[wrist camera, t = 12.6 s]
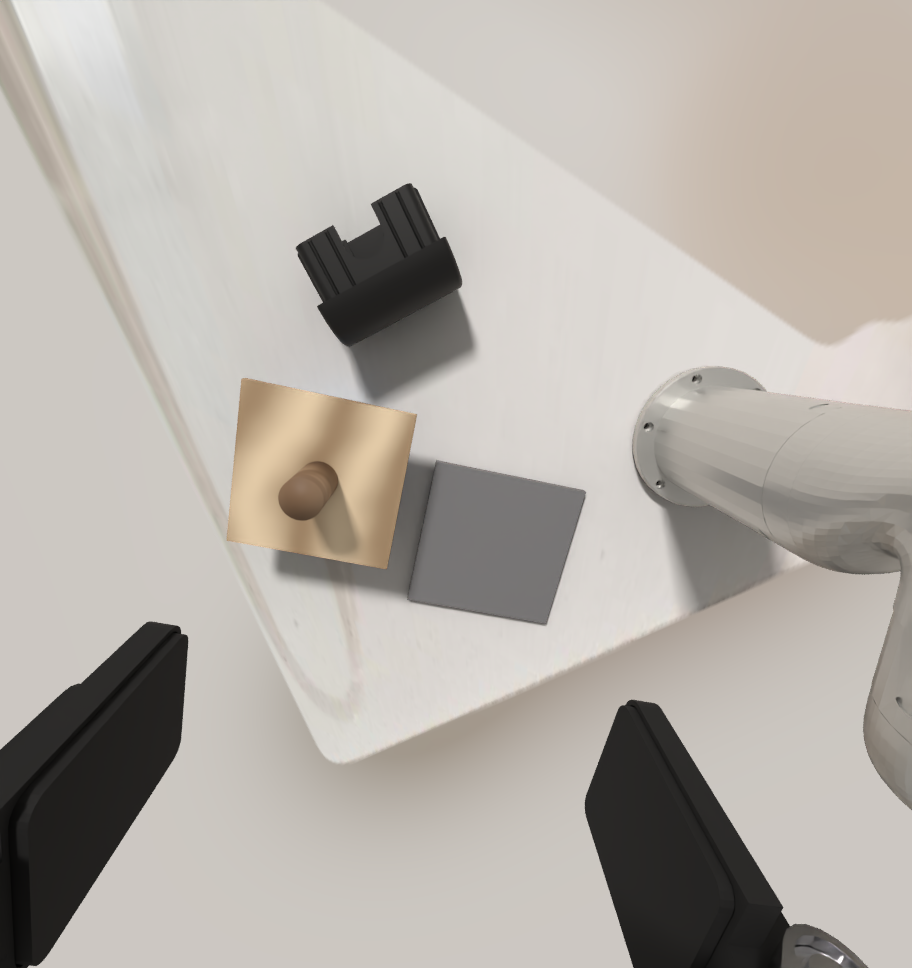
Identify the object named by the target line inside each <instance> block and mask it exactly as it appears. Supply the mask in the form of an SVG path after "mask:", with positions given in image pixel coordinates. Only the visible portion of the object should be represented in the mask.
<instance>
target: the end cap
mask: <svg viewBox="0 0 912 968" xmlns="http://www.w3.org/2000/svg"><path fill="white" fill-rule="evenodd" d="M371 206H372V208H373V210H374V212H375V214H376V216H377V218H378V220H379V223H380V225H379V226H377V227H375V228H373V229H372V230H370V231H368V232H366V233H364V234H363V235H361V236H359V237H357V238H355V239H354V240H352V241H350V242H348V243H347V241H346V240H344V241H341V239H340V237H339V235H338V233H337V231H336V229H335V227H334V226H333V225H332V226H331V227H329V228H327V229H325V230H323V231H322V232H320V233H318V234H316V235H315V236H313V237H311V238H309V239H307V240H306V241H304V242H302V243H301V244H299V245H298V246H297V247H296V249H297V251H298V257H299V259H300V261H301V263H302V265H303V266H304V268H305V270H306V272H307V274H308V276H309V277H310V279H311V281H312V283H313V285H314V287H315V289H316V290H317V292H318V294H319V296H320V298H321V300H322V301H323V303H322V304H320V305H318V306H317V307H318V309H319V311H320V313H321V314H322V316H323V318H324V319H325V321H326V322H327V324H328V325H329V327H330V328H331V330H332V331H333V333H334V334H335V335H336V337H337V338H338V339H339V340H340V341H341V342H342V343H343V344H344V345H346V346H352V345H354V344H355V343H357V342H359V341H361V340H363V339H365V338H367V337H369V336H370V335H372V334H374V333H376V332H378V331H380V330H382V329H384V328H385V327H387V326H389V325H391V324H393V323H395V322H397V321H399V320H400V319H402V318H404V317H406V316H408V315H410V314H412V313H414V312H415V311H417V310H419V309H421V308H423V307H425V306H427V305H429V304H430V303H432V302H434V301H436V300H438V299H440V298H442V297H444V296H446V295H447V294H449V293H451V292H453V291H455V290H457V289H459V288H460V287H461V286H462V278H461V275H460V272H459V269H458V266H457V263H456V261H455V258H454V256H453V253H452V251H451V248H450V246H449V244H448V241H447V239H446V237H443V238H441V239H440V238H439V236H438V234H437V231H436V229H435V227H434V225H433V223H432V220H431V218H430V216H429V214H428V212H427V210H426V207H425V205H424V203H423V201H422V199H421V196H420V194H419V192H418V190H417V189H416V188H414V187H413V186H412V184H411V183H409V184H406V185H404V186H402V187H400V188H398V189H396V190H395V191H393V192H391V193H389V194H388V195H386V196H384V197H382V198H380V199H379V200H377V201H375V202H373V203H372V204H371Z"/></svg>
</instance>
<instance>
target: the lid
mask: <svg viewBox="0 0 912 968" xmlns="http://www.w3.org/2000/svg"><path fill="white" fill-rule="evenodd" d="M416 417H417V414H413V413H408V412H404V411H399V410H394V409H389V408H385V407H380V406H375V405H371V404H366V403H361V402H356V401H352V400H347V399H342V398H337V397H333V396H328V395H323V394H319V393H314V392H309V391H304V390H300V389H295V388H290V387H286V386H281V385H276V384H271V383H267V382H262V381H257V380H253V379H248V378H243V379H242V380H241V390H240V401H239V412H238V423H237V434H236V444H235V455H234V466H233V477H232V488H231V498H230V509H229V520H228V531H227V541H232V542H238V543H243V544H249V545H254V546H260V547H266V548H271V549H277V550H282V551H288V552H293V553H299V554H304V555H310V556H316V557H321V558H327V559H332V560H338V561H343V562H349V563H354V564H360V565H365V566H371V567H377V568H382V569H387V566H388V561H389V556H390V551H391V546H392V541H393V536H394V530H395V525H396V520H397V515H398V510H399V505H400V500H401V494H402V489H403V484H404V479H405V474H406V469H407V464H408V459H409V453H410V448H411V443H412V438H413V433H414V428H415V423H416Z"/></svg>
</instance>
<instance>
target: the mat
mask: <svg viewBox="0 0 912 968" xmlns="http://www.w3.org/2000/svg"><path fill="white" fill-rule="evenodd" d="M585 494H586V492H585V491H584V490H579V489H575V488H570V487H565V486H560V485H555V484H550V483H545V482H540V481H535V480H530V479H525V478H521V477H516V476H511V475H506V474H501V473H496V472H491V471H486V470H481V469H476V468H471V467H467V466H462V465H457V464H452V463H447V462H442V461H436V465H435V470H434V475H433V480H432V484H431V489H430V494H429V499H428V503H427V508H426V513H425V517H424V522H423V527H422V532H421V536H420V541H419V546H418V551H417V555H416V560H415V565H414V569H413V574H412V579H411V584H410V588H409V593H408V599H407V600H413V601H419V602H424V603H430V604H436V605H441V606H447V607H453V608H459V609H464V610H470V611H476V612H481V613H487V614H493V615H499V616H504V617H510V618H516V619H521V620H527V621H533V622H539V623H544V624H546V622H547V618H548V615H549V612H550V609H551V605H552V602H553V599H554V595H555V592H556V589H557V586H558V582H559V579H560V576H561V572H562V569H563V566H564V563H565V559H566V556H567V553H568V549H569V546H570V543H571V540H572V536H573V533H574V530H575V527H576V523H577V520H578V517H579V513H580V510H581V507H582V504H583V500H584V497H585Z"/></svg>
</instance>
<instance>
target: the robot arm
mask: <svg viewBox="0 0 912 968" xmlns="http://www.w3.org/2000/svg"><path fill="white" fill-rule="evenodd" d="M693 376H694V380H693V381H692V378H693ZM646 423H647V427H646V428H644V425H645V424H646ZM633 455H634V460H635V464H636V467H637V469H638V472H639V474H640V476H641V477H642V479H643V480H644V482H645V483H646V484H647V486H648V487H650V488H651V489H652V490H653V491H654V492H655V493H656V494H658V495H660V496H661V497H663V498H664V499H666V500H668V501H670V502H673V503H675V504H678V505H683V506H688V507H703V506H709V505H711V506H713V507H714V508H716V509H718V510H719V511H721V512H723V513H725V514H726V515H728V516H730V517H731V518H733V519H735V520H737V521H738V522H740V523H742V524H744V525H745V526H747V527H749V528H750V529H752V530H754V531H756V532H757V533H759V534H761V535H762V536H764V537H766V538H768V539H769V540H771V541H773V542H775V543H776V544H778V545H780V546H781V547H783V548H785V549H787V550H788V551H790V552H792V553H793V554H795V555H797V556H799V557H801V558H802V559H804V560H806V561H808V562H810V563H813V564H815V565H817V566H820V567H822V568H826V569H829V570H832V571H837V572H843V573H850V574H864V575H865V574H884V573H892V572H898V571H901V577H900V582H899V586H898V590H897V594H896V598H895V601H894V605H893V614H892V617H891V620H890V624H889V627H888V631H887V634H886V637H885V641H884V644H883V647H882V651H881V654H880V657H879V661H878V664H877V667H876V670H875V674H874V677H873V680H872V686H871V689H870V693H869V696H868V701H867V705H866V710H865V715H864V724H863V732H864V741H865V745H866V748H867V752H868V755H869V757H870V759H871V762H872V764H873V765H874V767H875V769H876V771H877V772H878V774H879V775H880V777H881V778H882V779H883V781H884V782H885V783H886V784H887V786H888V787H889V788H890V789H891V790H892V791H893V793H894V794H895V795H896V796H897V797H898V798H899V799H900V800H901V801H902V802H903V803H904V804H905V805H907V806H908V807H909V808H910V809H911V810H912V411H910V410H901V409H894V408H886V407H878V406H870V405H861V404H853V403H846V402H838V401H831V400H823V399H816V398H809V397H801V396H794V395H786V394H779V393H772V392H767V391H766V389H765V388H764V387H763V386H762V385H761V384H760V383H759V382H758V381H757V380H756V379H754V378H753V377H751V376H750V375H748V374H747V373H745V372H742V371H739V370H736V369H733V368H727V367H714V366H707V367H701V368H695V369H692V370H689V371H686V372H684V373H681V374H679V375H677V376H676V377H674V378H672V379H670V380H669V381H667V382H666V383H665V384H664V385H662V386H661V387H660V388H659V389H658V390H657V391H656V392H655V393H654V394H653V395H652V397H651V398H650V399H649V400H648V401H647V403H646V405H645V406H644V408H643V410H642V411H641V413H640V415H639V418H638V421H637V423H636V426H635V431H634V437H633ZM657 481H659V482H658V483H657ZM656 483H657V484H656ZM187 650H188V637H187V635H184V634H181V629H180V627H179V626H175V625H169V624H163V623H157V622H147V623H146V624H144V625H143V626H142V627H141V628H140V629H139V630H138V631H137V632H136V633H135V634H133V635H132V636H131V637H130V638H129V639H128V640H127V641H126V642H125V643H124V644H123V645H122V646H121V647H119V648H118V650H117V651H115V652H114V653H113V654H112V655H111V656H110V657H109V658H108V659H107V660H106V661H105V662H104V663H102V664H101V665H100V666H99V667H98V668H97V669H96V670H95V671H94V672H93V673H92V674H91V675H90V676H89V677H88V678H86V679H85V680H84V681H83V682H82V683H81V684H76V685H73V686H71V687H69V688H68V689H67V690H65V691H64V692H63V693H62V694H61V695H60V696H59V697H57V698H56V699H55V700H54V701H53V702H52V703H51V704H50V705H49V706H48V707H46V708H45V709H44V710H43V711H42V712H41V713H40V714H39V715H38V716H37V717H36V718H35V719H33V720H32V721H31V722H30V723H29V724H28V725H27V726H26V727H25V728H24V729H23V730H22V731H20V732H19V733H18V734H17V735H16V736H15V737H14V738H13V739H12V740H11V741H10V742H8V743H7V744H6V745H5V746H4V747H3V748H2V749H1V750H0V968H27V967H28V966H29V965H31V966H37V965H39V964H40V963H41V962H42V961H43V960H44V959H45V958H46V956H47V955H48V953H49V952H50V951H51V949H52V948H53V946H54V944H55V943H56V941H57V940H58V938H59V937H60V935H61V934H62V932H63V930H64V929H65V927H66V926H67V924H68V923H69V921H70V919H71V918H72V916H73V915H74V913H75V912H76V910H77V909H78V907H79V906H80V904H81V903H82V901H83V899H84V898H85V896H86V895H87V893H88V892H89V890H90V888H91V887H92V885H93V884H94V882H95V881H96V879H97V878H98V876H99V874H100V873H101V871H102V870H103V868H104V867H105V865H106V864H107V862H108V861H109V859H110V857H111V856H112V854H113V853H114V851H115V850H116V848H117V847H118V845H119V844H120V842H121V840H122V839H123V837H124V836H125V834H126V832H127V831H128V830H129V828H130V826H131V825H132V823H133V822H134V820H135V819H136V817H137V816H138V814H139V812H140V811H141V809H142V808H143V806H144V805H145V803H146V802H147V800H148V798H149V797H150V795H151V794H152V792H153V791H154V789H155V787H156V786H157V784H158V783H159V781H160V780H161V778H162V777H163V775H164V774H165V772H166V770H167V769H168V767H169V766H170V764H171V762H172V761H173V759H174V758H175V756H176V754H177V751H178V748H179V745H180V742H181V732H182V719H183V706H184V692H185V677H186V665H187ZM585 813H586V818H587V821H588V824H589V827H590V830H591V834H592V837H593V840H594V843H595V846H596V849H597V853H598V856H599V859H600V862H601V865H602V869H603V872H604V875H605V878H606V881H607V885H608V888H609V890H610V894H611V897H612V900H613V904H614V907H615V910H616V913H617V916H618V919H619V923H620V926H621V929H622V932H623V935H624V939H625V942H626V945H627V948H628V951H629V955H630V958H631V961H632V964H633V967H634V968H868V967H867V966H866V965H865V964H864V963H863V962H862V961H861V960H860V959H859V957H857V956H856V955H855V953H853V952H852V951H851V950H850V949H849V948H847V947H846V946H845V945H844V944H842V943H841V942H840V941H839V940H837V939H836V938H834V937H832V936H831V935H829V934H828V933H826V932H824V931H822V930H821V929H818V928H815V927H812V926H810V925H807V924H794V925H792V926H791V927H790V926H789V924H788V922H787V921H786V919H785V917H784V916H783V914H782V912H781V911H782V909H783V906H782V904H781V903H780V901H779V900H778V898H777V896H776V895H775V893H774V891H773V890H772V888H771V887H770V885H769V883H768V882H767V880H766V879H765V877H764V875H763V874H762V872H761V870H760V869H759V867H758V865H757V864H756V862H755V861H754V859H753V857H752V856H751V854H750V852H749V851H748V849H747V848H746V846H745V844H744V843H743V841H742V840H741V838H740V836H739V835H738V833H737V831H736V830H735V828H734V826H733V825H732V823H731V822H730V820H729V819H728V817H727V815H726V813H725V812H724V810H723V809H722V807H721V805H720V804H719V802H718V801H717V799H716V797H715V796H714V794H713V792H712V791H711V789H710V787H709V786H708V784H707V783H706V781H705V779H704V778H703V776H702V774H701V773H700V771H699V770H698V768H697V766H696V765H695V763H694V761H693V760H692V758H691V757H690V755H689V753H688V752H687V750H686V748H685V747H684V745H683V744H682V742H681V740H680V739H679V737H678V736H677V734H676V732H675V731H674V729H673V727H672V726H671V724H670V722H669V721H668V719H667V718H666V716H665V714H664V713H663V711H662V709H661V708H660V707H659V706H658V705H657V704H655V703H649V702H643V701H637V700H629V701H628V702H627V704H626V705H625V706H620V708H619V709H618V712H617V714H616V717H615V720H614V722H613V725H612V728H611V730H610V733H609V736H608V738H607V741H606V744H605V746H604V749H603V752H602V754H601V757H600V760H599V762H598V765H597V768H596V770H595V773H594V776H593V779H592V781H591V784H590V787H589V790H588V792H587V795H586V799H585Z"/></svg>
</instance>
